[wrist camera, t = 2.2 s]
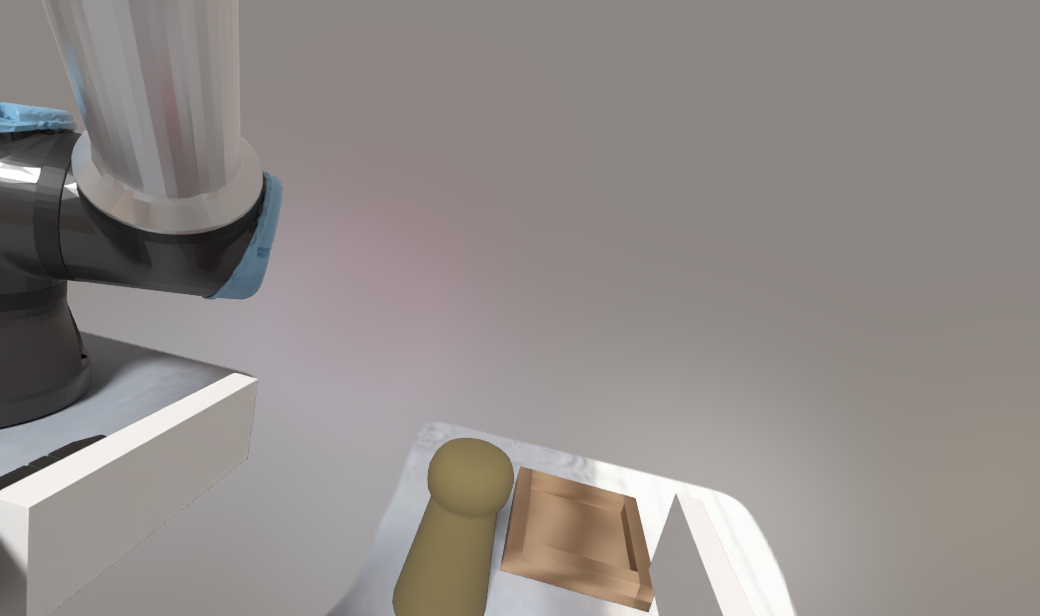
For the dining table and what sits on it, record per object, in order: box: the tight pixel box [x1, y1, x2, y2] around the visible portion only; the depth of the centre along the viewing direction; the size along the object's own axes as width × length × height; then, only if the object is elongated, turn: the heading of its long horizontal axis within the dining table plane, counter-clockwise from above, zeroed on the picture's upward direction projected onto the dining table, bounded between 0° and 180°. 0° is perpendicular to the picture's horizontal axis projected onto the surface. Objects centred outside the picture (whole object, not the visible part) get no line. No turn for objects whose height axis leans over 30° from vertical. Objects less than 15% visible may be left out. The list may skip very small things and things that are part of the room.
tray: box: [500, 466, 654, 612], centre depth 41 cm, size 11×11×2 cm
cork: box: [392, 438, 514, 616], centre depth 31 cm, size 6×6×11 cm
